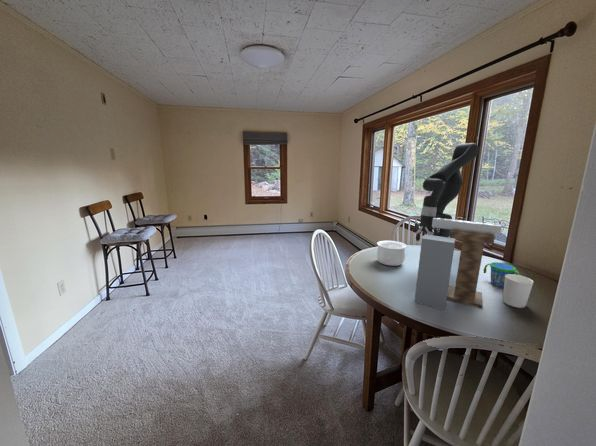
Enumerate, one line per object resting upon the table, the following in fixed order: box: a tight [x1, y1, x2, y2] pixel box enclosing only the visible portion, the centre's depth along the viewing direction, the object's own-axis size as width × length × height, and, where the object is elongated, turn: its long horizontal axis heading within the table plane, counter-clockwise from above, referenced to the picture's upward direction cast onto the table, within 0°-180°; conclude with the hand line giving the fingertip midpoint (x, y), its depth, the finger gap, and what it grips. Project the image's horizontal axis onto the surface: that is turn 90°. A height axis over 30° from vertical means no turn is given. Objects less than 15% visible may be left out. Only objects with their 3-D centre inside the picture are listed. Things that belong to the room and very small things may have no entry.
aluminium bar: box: [432, 218, 503, 236], centre depth 119 cm, size 26×4×4 cm, turn 56°
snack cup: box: [483, 261, 521, 287], centre depth 138 cm, size 16×10×10 cm
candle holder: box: [502, 273, 534, 309], centre depth 118 cm, size 10×10×12 cm
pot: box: [376, 239, 407, 267], centre depth 165 cm, size 22×17×12 cm
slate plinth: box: [414, 233, 456, 311], centre depth 116 cm, size 12×8×30 cm, turn 56°
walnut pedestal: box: [446, 230, 496, 309], centre depth 121 cm, size 16×14×32 cm
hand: (423, 242), depth 151 cm, fingers open, 8 cm apart
